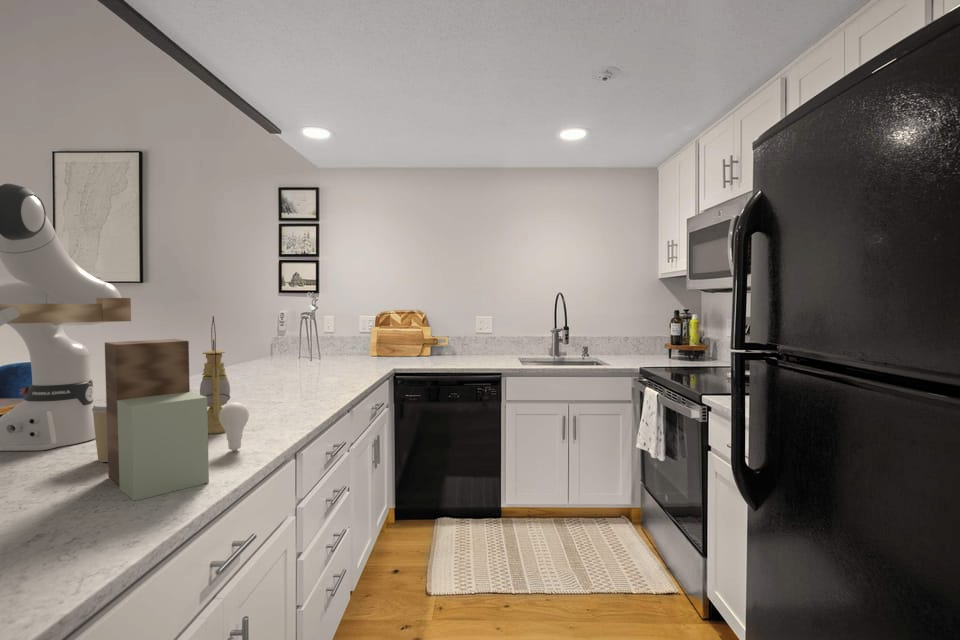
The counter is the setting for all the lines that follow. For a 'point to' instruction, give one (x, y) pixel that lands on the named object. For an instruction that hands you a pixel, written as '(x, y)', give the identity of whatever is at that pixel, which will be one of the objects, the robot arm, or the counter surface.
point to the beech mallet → (73, 311)
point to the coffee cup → (101, 430)
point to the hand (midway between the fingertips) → (14, 310)
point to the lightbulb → (234, 423)
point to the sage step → (162, 443)
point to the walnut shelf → (141, 380)
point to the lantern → (214, 387)
